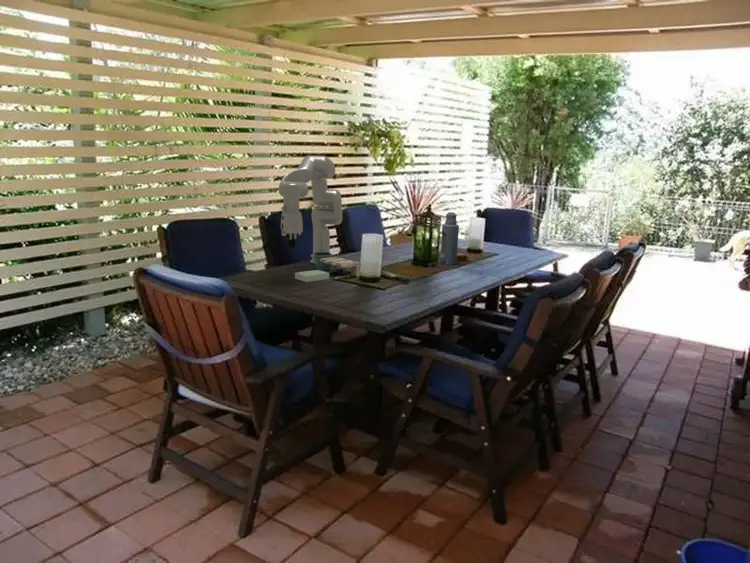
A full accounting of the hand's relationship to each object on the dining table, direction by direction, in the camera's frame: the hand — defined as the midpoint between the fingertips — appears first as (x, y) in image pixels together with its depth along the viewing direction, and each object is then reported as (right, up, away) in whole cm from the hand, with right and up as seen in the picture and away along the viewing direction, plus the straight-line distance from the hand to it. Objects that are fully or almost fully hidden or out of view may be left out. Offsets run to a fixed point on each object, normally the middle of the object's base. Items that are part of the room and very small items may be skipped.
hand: (291, 247), depth 285 cm
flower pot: (+12, -10, +34) cm, 38 cm away
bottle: (+83, -6, +62) cm, 104 cm away
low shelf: (+21, -13, +22) cm, 33 cm away
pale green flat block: (+9, -15, +11) cm, 21 cm away
